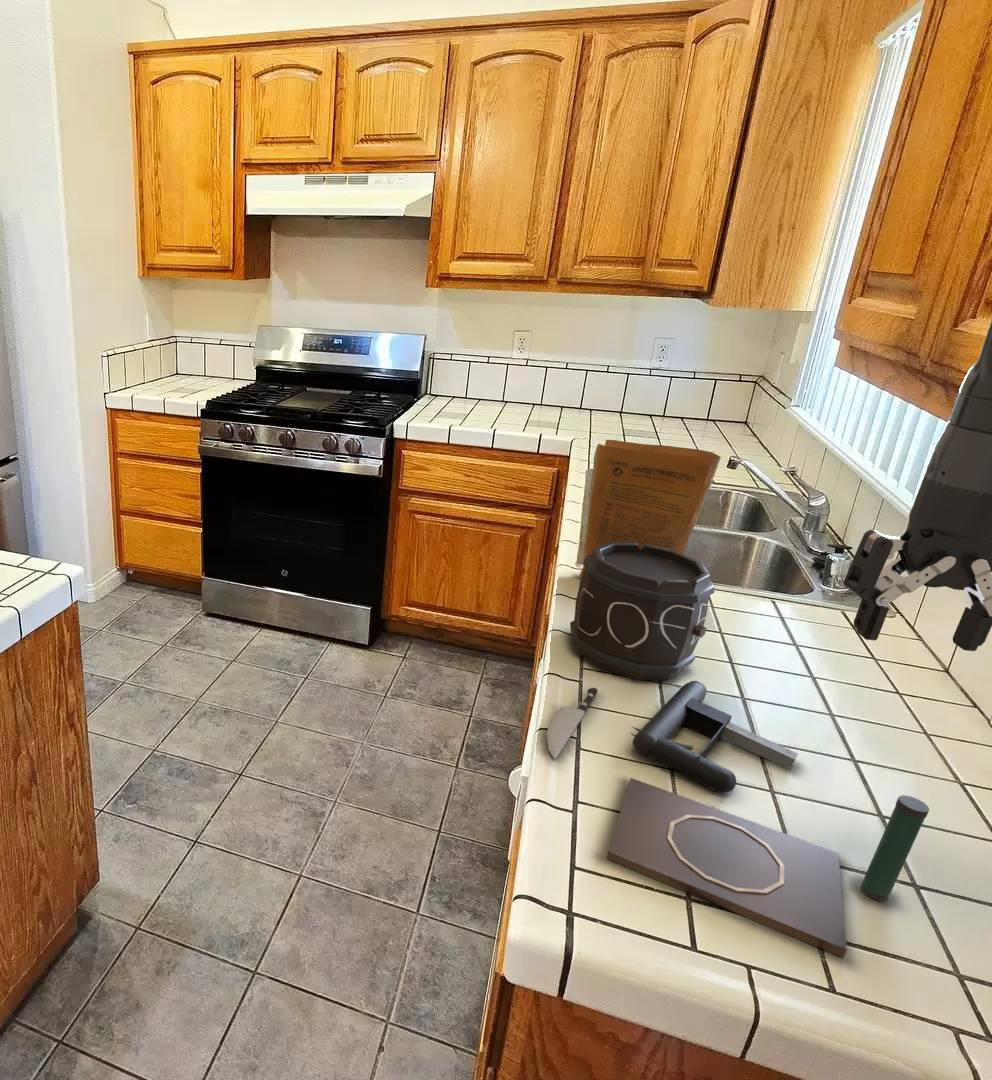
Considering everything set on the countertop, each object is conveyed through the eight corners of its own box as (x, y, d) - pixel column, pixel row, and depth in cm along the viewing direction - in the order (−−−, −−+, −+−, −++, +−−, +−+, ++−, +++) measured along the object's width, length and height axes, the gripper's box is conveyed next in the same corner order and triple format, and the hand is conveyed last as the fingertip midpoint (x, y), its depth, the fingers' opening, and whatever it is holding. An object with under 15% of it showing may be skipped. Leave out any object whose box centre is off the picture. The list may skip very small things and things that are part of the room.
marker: (887, 890, 75) (927, 801, 71) (889, 906, 73) (931, 815, 69) (858, 879, 76) (896, 791, 72) (860, 894, 74) (899, 805, 70)
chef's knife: (530, 752, 93) (554, 761, 91) (531, 744, 92) (555, 753, 91) (576, 687, 107) (598, 693, 105) (577, 680, 107) (599, 686, 105)
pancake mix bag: (678, 610, 132) (720, 456, 122) (566, 582, 142) (597, 436, 131) (683, 597, 137) (723, 448, 127) (575, 570, 147) (604, 430, 137)
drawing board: (835, 860, 78) (839, 852, 78) (843, 958, 67) (847, 949, 67) (628, 784, 88) (631, 776, 87) (606, 858, 77) (608, 850, 76)
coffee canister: (660, 700, 105) (688, 599, 99) (545, 647, 118) (564, 554, 112) (714, 662, 116) (742, 568, 110) (604, 617, 128) (624, 531, 123)
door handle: (811, 729, 96) (680, 671, 106) (769, 802, 83) (623, 728, 93) (802, 750, 97) (673, 691, 107) (758, 824, 84) (616, 749, 94)
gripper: (918, 485, 64) (855, 652, 70) (1108, 500, 62) (1027, 671, 68) (867, 461, 71) (814, 616, 77) (1036, 475, 69) (968, 632, 75)
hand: (914, 641), depth 72 cm, fingers open, 8 cm apart
